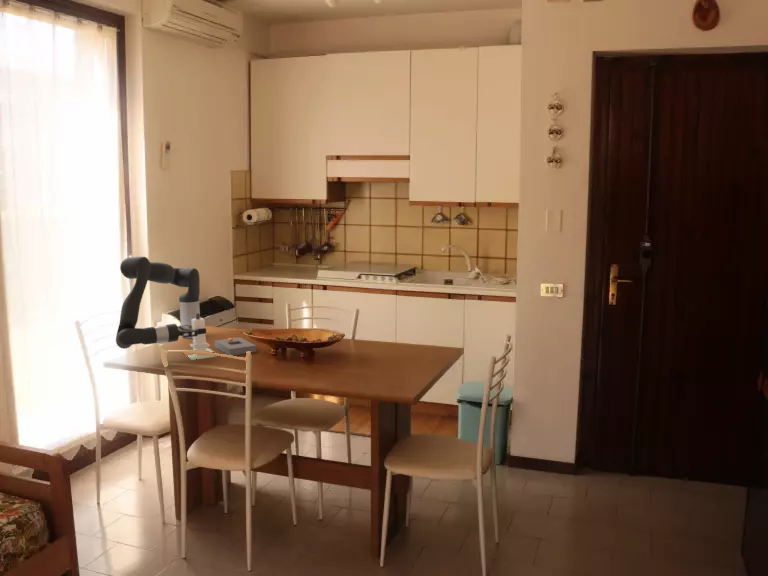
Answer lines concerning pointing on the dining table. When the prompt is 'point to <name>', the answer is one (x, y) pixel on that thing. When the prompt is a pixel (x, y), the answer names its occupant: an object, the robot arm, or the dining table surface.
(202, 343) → the plug
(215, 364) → the dining table surface
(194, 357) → the mat
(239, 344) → the grey slotted block
